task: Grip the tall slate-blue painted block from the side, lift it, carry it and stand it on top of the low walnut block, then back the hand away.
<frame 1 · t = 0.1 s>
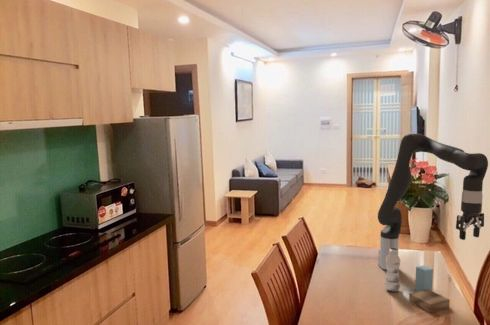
hand: (469, 238, 160), 29 cm above the table, tool pointing down, fingers open, 8 cm apart
plastic bottle: (392, 290, 177), on the table
walnut block: (428, 305, 163), on the table
blue block: (423, 293, 174), on the table
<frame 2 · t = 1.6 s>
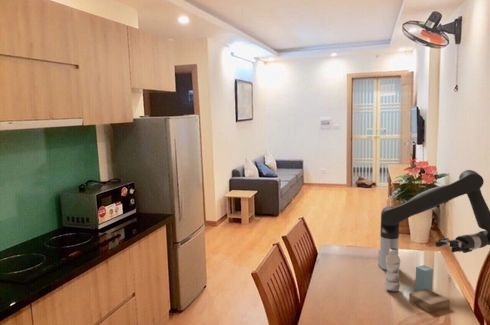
hand: (443, 247, 176), 20 cm above the table, tool horizontal, fingers open, 8 cm apart
nothing on the table moved.
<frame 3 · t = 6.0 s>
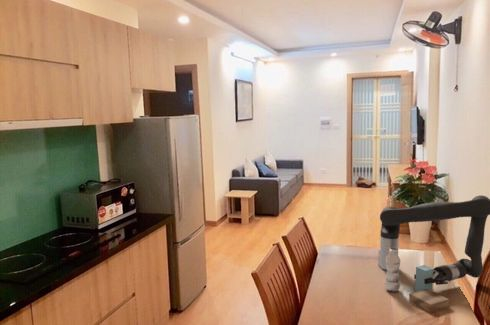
hand: (419, 279, 172), 7 cm above the table, tool horizontal, fingers closed on blue block, 5 cm apart
blue block: (423, 292, 174), on the table, touching gripper
everything else where it was.
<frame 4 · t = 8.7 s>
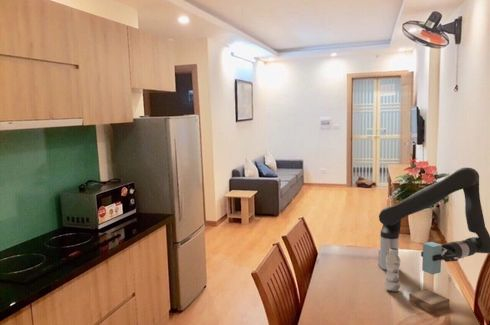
hand: (427, 256, 160), 22 cm above the table, tool horizontal, fingers closed on blue block, 5 cm apart
blue block: (431, 271, 161), point 15 cm above the table, touching gripper
everything else where it was.
when the fingers open (12 cm above the table, at t = 11.5 s): blue block drops 1 cm, resting on walnut block.
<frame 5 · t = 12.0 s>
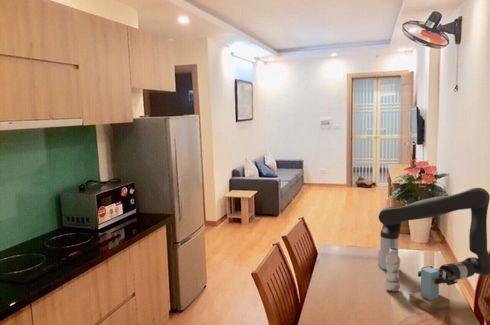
hand: (426, 278, 161), 12 cm above the table, tool horizontal, fingers open, 8 cm apart
walnut block: (428, 305, 163), on the table, touching blue block
blue block: (429, 296, 162), point 4 cm above the table, touching walnut block
everything else where it was.
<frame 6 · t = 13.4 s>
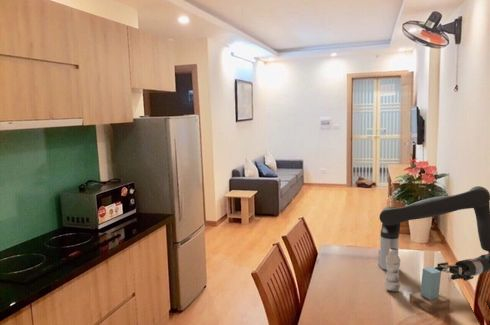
hand: (443, 273, 165), 12 cm above the table, tool horizontal, fingers open, 8 cm apart
nothing on the table moved.
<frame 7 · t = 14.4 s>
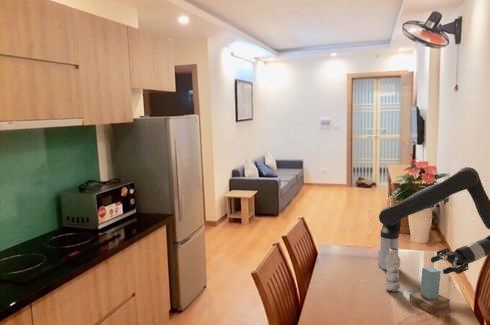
hand: (437, 266, 170), 14 cm above the table, tool tilted 70°, fingers open, 8 cm apart
walnut block: (428, 305, 163), on the table
blue block: (428, 296, 162), point 4 cm above the table
everything else where it was.
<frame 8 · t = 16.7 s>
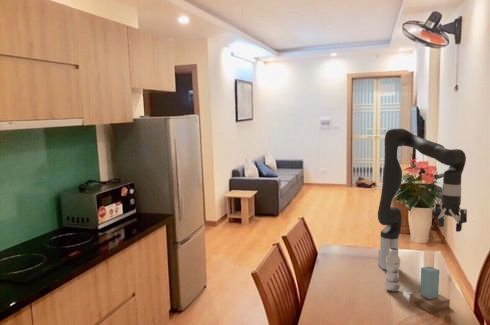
hand: (449, 228, 171), 30 cm above the table, tool pointing down, fingers open, 8 cm apart
walnut block: (429, 305, 163), on the table, touching blue block
blue block: (428, 296, 163), point 4 cm above the table, touching walnut block
everything else where it was.
at the end: blue block inside the target area on the walnut block (0.5 cm from its centre), point 4.2 cm above the walnut block's base; blue block tilted 3°; the gripper is holding nothing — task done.
